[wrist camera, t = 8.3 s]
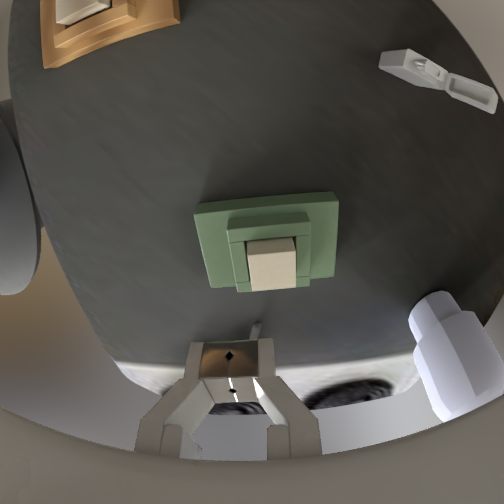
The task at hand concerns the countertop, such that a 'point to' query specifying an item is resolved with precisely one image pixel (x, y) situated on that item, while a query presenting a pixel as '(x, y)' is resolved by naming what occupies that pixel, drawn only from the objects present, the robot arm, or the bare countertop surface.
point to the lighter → (437, 78)
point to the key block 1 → (101, 27)
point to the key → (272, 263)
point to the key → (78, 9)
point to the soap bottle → (454, 356)
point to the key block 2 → (268, 234)
